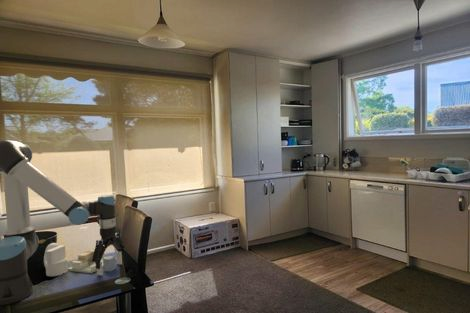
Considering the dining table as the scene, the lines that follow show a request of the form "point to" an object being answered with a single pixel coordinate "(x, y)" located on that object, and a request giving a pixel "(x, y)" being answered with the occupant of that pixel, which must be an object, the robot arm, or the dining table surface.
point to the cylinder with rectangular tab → (56, 261)
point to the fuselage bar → (86, 256)
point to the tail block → (109, 263)
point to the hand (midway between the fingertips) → (110, 269)
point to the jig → (84, 266)
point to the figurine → (49, 249)
